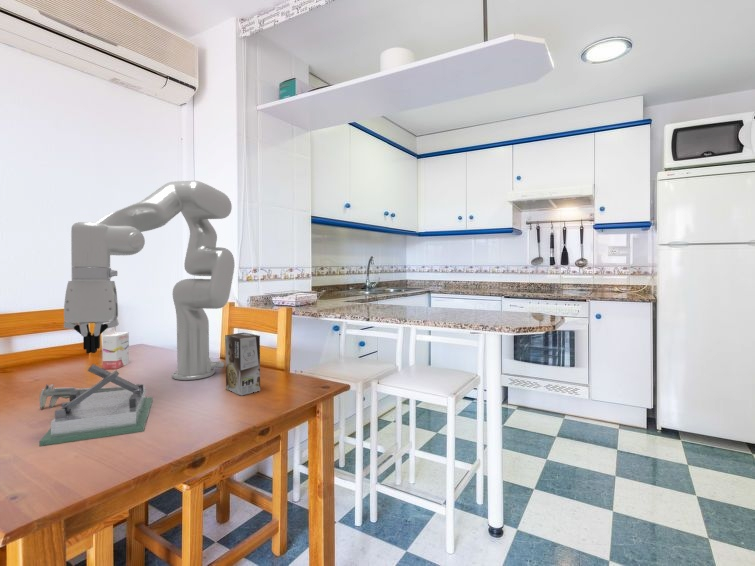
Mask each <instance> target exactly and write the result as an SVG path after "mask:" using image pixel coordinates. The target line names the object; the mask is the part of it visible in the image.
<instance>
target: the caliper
mask: <svg viewBox="0 0 755 566" xmlns="http://www.w3.org/2000/svg"><path fill="white" fill-rule="evenodd" d="M54 385H55V384H53V383H51V384H50V385H49V384H46V385H45V388H42V389H41V392H40V394H39V395H40V396H39V408H40V409H41V410H44V409H45V407H46V404H47V403H46V402H47V400H48V397H50V400H49V403H48V404H49V406H48V408H49V407H50V409H52V408H54V406H55V405H56V403H57V401H58V400H59V398H62V399H70V394H71V393H72V392H73V391H75V390H80V395H81V394H82V393H84V392H85V391H87V390H88V389H90V388H91V387H87V388H86V387H85V388H83V387H81V388H76V387H69V386H68V387H55V386H54ZM120 390H127V389H125V388H123V387H120V386H110V387H109V386H107V387H106V386H105V387H104V386H103V387H102V388H100V389H99V390H97V391H96V392H94V393H101V392H110V391H120Z"/></svg>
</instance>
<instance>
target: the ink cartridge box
mask: <svg viewBox="0 0 755 566" xmlns="http://www.w3.org/2000/svg"><path fill="white" fill-rule="evenodd" d="M116 329H117V326H115V327H111V328H107V329H106V330H105V331H103V332H102V338H101V339H102V369H104V370H117V369H120V368H121V367H122V368H123V367H124V366H126V365H129V364H130V332H129V331H118V332H117V331H116Z"/></svg>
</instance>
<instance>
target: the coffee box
mask: <svg viewBox="0 0 755 566" xmlns="http://www.w3.org/2000/svg"><path fill="white" fill-rule="evenodd" d="M260 339H261V335H257V334H253V333H248V332H238V333H233V334H226V335H224V353H225V354H224V355H225V357H224V358H225V390H226V389H227V391H229V390H230V391H229V392H231V391H232V392H231V393H234V394H236V395H239V396H241V397H242V396H245V395H249V394H254V393H258V392H257V391H259V392H261V340H260ZM253 392H254V393H253Z"/></svg>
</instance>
